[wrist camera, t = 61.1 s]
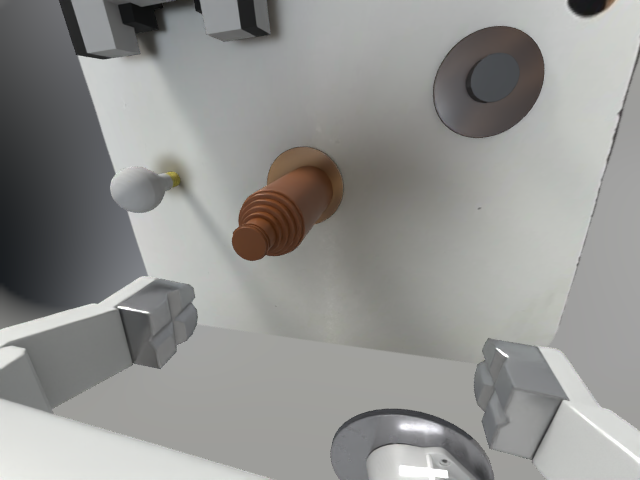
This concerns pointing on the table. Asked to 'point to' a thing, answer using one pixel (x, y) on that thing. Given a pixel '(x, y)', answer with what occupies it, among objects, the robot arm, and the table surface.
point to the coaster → (310, 158)
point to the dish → (491, 116)
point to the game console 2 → (153, 23)
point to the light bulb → (141, 188)
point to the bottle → (282, 213)
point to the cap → (492, 78)
